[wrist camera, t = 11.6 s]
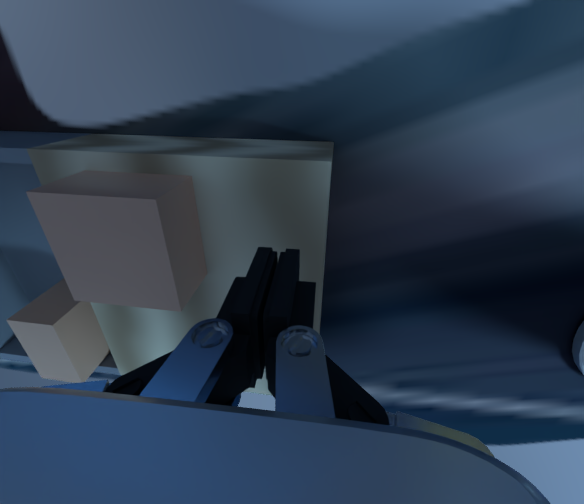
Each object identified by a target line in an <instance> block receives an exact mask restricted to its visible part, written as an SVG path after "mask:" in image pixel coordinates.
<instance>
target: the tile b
mask: <svg viewBox="0 0 584 504" xmlns="http://www.w3.org/2000/svg"><path fill="white" fill-rule="evenodd" d="M26 193H27V196H28V198H29V200H30V202H31V205H32V207H33V209H34V211H35V214H36V216H37V218H38V220H39V222H40V225H41V227H42V229H43V231H44V234H45V236H46V238H47V240H48V243H49V245H50V247H51V249H52V252H53V254H54V256H55V258H56V260H57V263H58V265H59V267H60V269H61V272H62V274H63V276H64V278H65V281H66V283H67V285H68V287H69V289H70V292H71V294H72V296H73V298H74V301H84V302H93V303H102V304H112V305H121V306H131V307H140V308H150V309H159V310H169V311H178V312H182V310H183V309H184V307H185V306H186V304H187V303H188V301H189V300H190V298H191V297H192V295H193V294H194V292H195V291H196V290H197V288H198V287H199V285H200V284H201V282H202V281H203V279H204V278H205V276H206V275H207V268H206V262H205V256H204V249H203V243H202V237H201V230H200V224H199V218H198V211H197V205H196V199H195V192H194V186H193V180H192V176H187V175H167V174H147V173H127V172H107V171H87V170H84V171H81V172H79V173H76V174H73V175H70V176H68V177H65V178H62V179H59V180H57V181H54V182H51V183H48V184H46V185H43V186H40V187H37V188H35V189H32V190H29V191H26Z"/></svg>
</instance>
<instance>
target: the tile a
mask: <svg viewBox="0 0 584 504" xmlns="http://www.w3.org/2000/svg"><path fill="white" fill-rule="evenodd" d="M6 321H7V322H8V324H9V325H10V327H11V329H12V330H13V332H14V334H15V335H16V337H17V338H18V340H19V342H20V343H21V345H22V347H23V348H24V350H25V351H26V353H27V355H28V356H29V358H30V359H31V361H32V363H33V364H34V366H35V368H36V369H37V371H38V372H39V374H40V376H41V377H42V378H44V379H52V380H59V381H66V382H73V383H81V382H85V381H86V380H87V379H88V377H89V376H90V375H91V374H92V373H93V371H94V370H95V369H96V368H97V367H98V365H99V364H100V363H101V362H102V361H103V360H104V358H105V357H106V356H107V355H108V354H109V352H110V349H109V346H108V344H107V342H106V339H105V337H104V334H103V332H102V329H101V327H100V325H99V322H98V320H97V317H96V315H95V313H94V310H93V308H92V305H91V303H90V302H84V301H74V298H73V296H72V294H71V292H70V289H69V287H68V285H67V283H66V281H65V278H64V279H62V280H61V281H59V282H58V283H57V284H55V285H54V286H52V287H51V288H50V289H48V290H47V291H46V292H44V293H43V294H41V295H40V296H39V297H37V298H36V299H35V300H33V301H32V302H30V303H29V304H28V305H26V306H25V307H23V308H22V309H21V310H19V311H18V312H17V313H15V314H14V315H12V316H11V317H10V318H8V319H7V320H6Z"/></svg>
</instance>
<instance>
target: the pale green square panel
mask: <svg viewBox="0 0 584 504" xmlns="http://www.w3.org/2000/svg"><path fill="white" fill-rule="evenodd" d="M333 146H334V142H320V141H291V140H262V139H233V138H204V137H175V136H146V135H117V134H89V135H85V136H81V137H76V138H72V139H67V140H63V141H59V142H54V143H50V144H45V145H41V146H36V147H32V148H28V149H27V152H28V154H29V156H30V159H31V161H32V164H33V166H34V168H35V171H36V173H37V176H38V178H39V180H40V183H41V185H42V186H43V185H46V184H48V183H51V182H54V181H57V180H59V179H62V178H65V177H68V176H70V175H73V174H76V173H79V172H81V171H84V170H87V171H107V172H127V173H147V174H167V175H187V176H192V180H193V186H194V192H195V199H196V205H197V211H198V218H199V224H200V230H201V237H202V243H203V249H204V256H205V262H206V268H207V275H206V276H205V278H204V279H203V281H202V282H201V284H200V285H199V287H198V288H197V290H196V291H195V292H194V294H193V295H192V297H191V298H190V300H189V301H188V303H187V304H186V306H185V307H184V309H183V310H182V312H178V311H169V310H159V309H150V308H140V307H131V306H121V305H112V304H102V303H93V302H90V303H91V305H92V308H93V310H94V313H95V315H96V317H97V320H98V322H99V325H100V327H101V329H102V332H103V334H104V337H105V339H106V342H107V344H108V346H109V349H110V351H111V354H112V356H113V358H114V361H115V363H116V366H117V368H118V370H119V373H120V375H124V374H126V373H128V372H130V371H132V370H134V369H136V368H138V367H141V366H143V365H145V364H147V363H149V362H151V361H153V360H155V359H157V358H159V357H161V356H163V355H165V354H167V353H169V352H171V351H173V350H174V349H175V348H176V347H177V345H178V344H179V343H180V342H181V340H182V339H183V338H184V336H185V335H186V334H187V332H188V331H189V330H190V329H191V328H192V327H193V326H194V325H195V324H197V323H198V322H200V321H203V320H206V319H211V318H216V317H217V315H218V313H219V311H220V308H221V306H222V304H223V302H224V300H225V298H226V296H227V294H228V292H229V289H230V287H231V285H232V283H233V281H234V279H235V277H246V275H247V272H248V270H249V268H250V265H251V263H252V260H253V258H254V256H255V253H256V251H257V249H258V247H272V249H273V251H277V257H278V259H279V256H280V252H285V251H286V248H288V249H300V270H299V281H307V282H316V292H315V309H314V323H313V329H314V330H315V331H317V332H318V333H319V335H320V322H321V308H322V295H323V281H324V268H325V254H326V241H327V227H328V214H329V200H330V187H331V173H332V160H333ZM244 392H251V393H259V394H266V395H272V394H271V393H270V392H269V390H268V381H267V380H266V369H264V374H263V378H262V379H257V381H256V385H255V388H248V389H246V390H245V391H244Z"/></svg>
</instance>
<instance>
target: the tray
mask: <svg viewBox="0 0 584 504" xmlns="http://www.w3.org/2000/svg"><path fill="white" fill-rule="evenodd" d="M85 135H89V134H88V133H59V132H30V131H1V130H0V359H6V360H13V361H20V362H28V363H32V361H31V359H30V358H29V356H28V355H27V353H26V351H25V350H24V348H23V347H22V345H21V343H20V342H19V340H18V338H17V337H16V335H15V334H14V332H13V330H12V329H11V327H10V325H9V324H8V322H7V321H6V320H7V319H8V318H10V317H11V316H12V315H14V314H15V313H17V312H18V311H19V310H21V309H22V308H23V307H25V306H26V305H28V304H29V303H30V302H32V301H33V300H35V299H36V298H37V297H39V296H40V295H41V294H43V293H44V292H46V291H47V290H48V289H50V288H51V287H52V286H54V285H55V284H57V283H58V282H59V281H61V280H62V279H64V276H63V274H62V272H61V269H60V267H59V265H58V263H57V260H56V258H55V256H54V254H53V252H52V249H51V247H50V245H49V243H48V240H47V238H46V236H45V234H44V231H43V229H42V227H41V225H40V222H39V220H38V218H37V216H36V214H35V211H34V209H33V207H32V205H31V202H30V200H29V198H28V196H27V193H26V191H29V190H32V189H35V188H37V187H40V186H42V185H41V183H40V180H39V178H38V176H37V173H36V171H35V168H34V166H33V164H32V161H31V159H30V156H29V154H28V152H27V149H28V148H32V147H36V146H41V145H45V144H50V143H54V142H59V141H63V140H67V139H72V138H76V137H81V136H85ZM94 371H95V372H102V373H110V374H117V375H120V373H119V370H118V368H117V366H116V363H115V361H114V358H113V356H112V354H111V351H110V352H109V354H108V355H107V356H106V357H105V358H104V360H103V361H102V362H101V363H100V364H99V365H98V367H97V368H96V369H95V370H94Z"/></svg>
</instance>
